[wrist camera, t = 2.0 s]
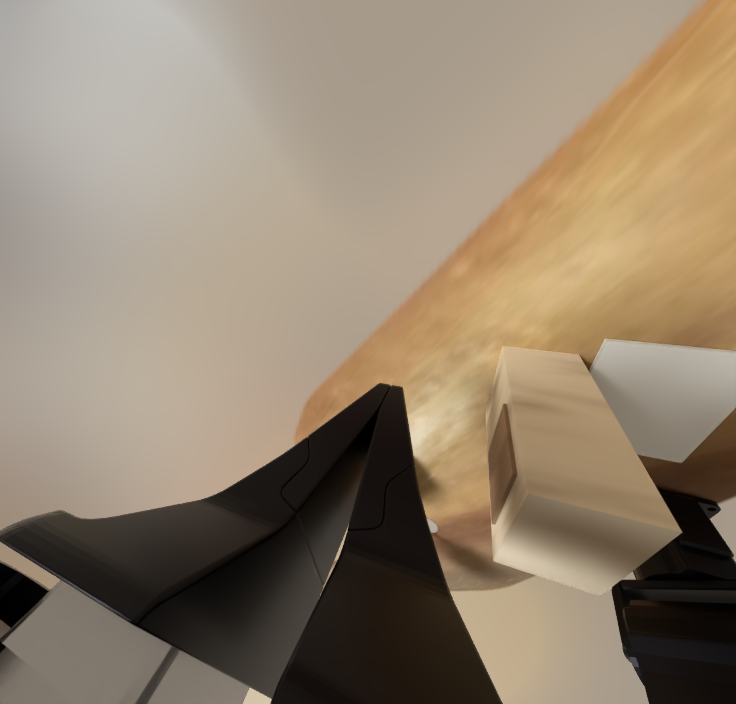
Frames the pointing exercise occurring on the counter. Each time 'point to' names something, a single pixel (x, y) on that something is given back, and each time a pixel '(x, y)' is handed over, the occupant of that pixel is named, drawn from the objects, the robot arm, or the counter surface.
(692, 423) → the mat
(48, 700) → the robot arm
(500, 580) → the counter surface
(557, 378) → the birch block
